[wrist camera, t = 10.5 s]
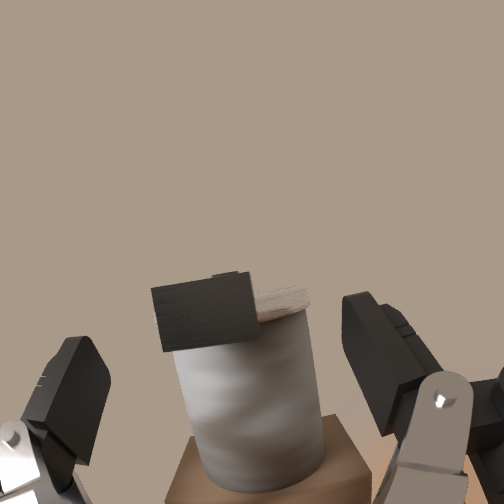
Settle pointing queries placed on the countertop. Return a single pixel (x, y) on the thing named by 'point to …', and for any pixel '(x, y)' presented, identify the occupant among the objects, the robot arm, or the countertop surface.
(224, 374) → the stand
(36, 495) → the robot arm
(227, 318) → the cooker lid
